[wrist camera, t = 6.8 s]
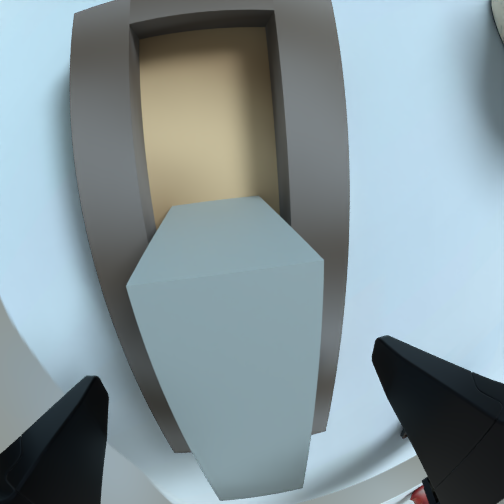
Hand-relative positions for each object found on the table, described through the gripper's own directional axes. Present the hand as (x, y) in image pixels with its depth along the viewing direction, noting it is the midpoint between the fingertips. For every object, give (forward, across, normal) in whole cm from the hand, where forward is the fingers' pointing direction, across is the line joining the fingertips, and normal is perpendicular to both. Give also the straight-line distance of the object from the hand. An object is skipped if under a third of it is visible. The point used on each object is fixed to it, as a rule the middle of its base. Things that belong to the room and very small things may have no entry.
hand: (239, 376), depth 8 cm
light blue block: (+4, 0, 0) cm, 4 cm away
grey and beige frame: (+5, 0, -2) cm, 5 cm away
